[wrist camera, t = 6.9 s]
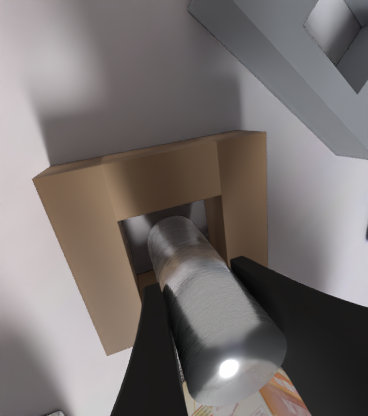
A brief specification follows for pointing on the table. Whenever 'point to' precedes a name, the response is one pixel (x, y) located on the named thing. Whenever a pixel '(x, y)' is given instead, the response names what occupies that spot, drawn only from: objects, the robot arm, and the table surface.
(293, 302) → the robot arm
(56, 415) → the skincare box
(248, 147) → the walnut seat block
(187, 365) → the metal axle
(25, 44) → the table surface
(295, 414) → the coffeecake box
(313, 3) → the bored beam
